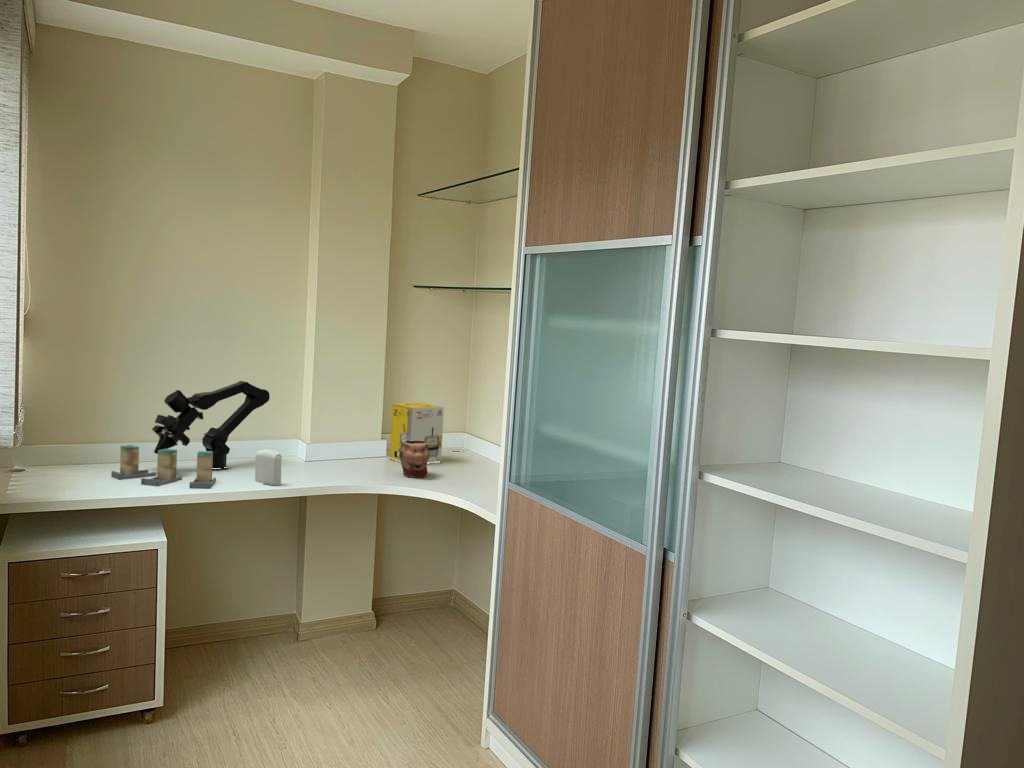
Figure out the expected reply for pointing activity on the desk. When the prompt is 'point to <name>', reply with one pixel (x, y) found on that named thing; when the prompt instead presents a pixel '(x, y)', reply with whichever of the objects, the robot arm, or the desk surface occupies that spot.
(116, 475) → the slate track
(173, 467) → the oak key
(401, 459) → the decorative planter
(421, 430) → the packaging box
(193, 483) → the slate track
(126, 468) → the oak key
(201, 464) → the oak key
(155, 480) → the slate track
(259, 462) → the photo printer
